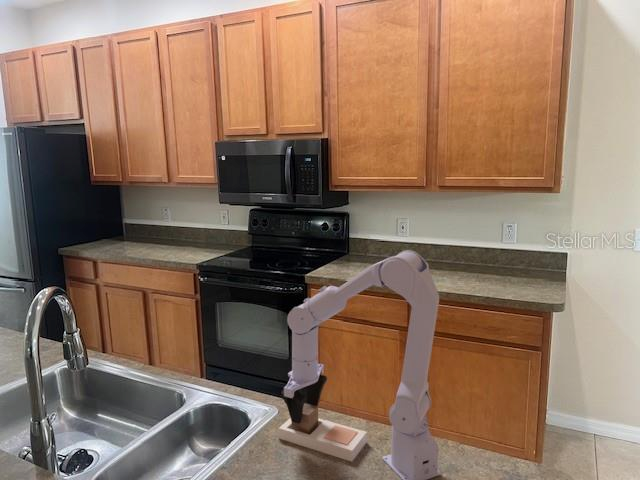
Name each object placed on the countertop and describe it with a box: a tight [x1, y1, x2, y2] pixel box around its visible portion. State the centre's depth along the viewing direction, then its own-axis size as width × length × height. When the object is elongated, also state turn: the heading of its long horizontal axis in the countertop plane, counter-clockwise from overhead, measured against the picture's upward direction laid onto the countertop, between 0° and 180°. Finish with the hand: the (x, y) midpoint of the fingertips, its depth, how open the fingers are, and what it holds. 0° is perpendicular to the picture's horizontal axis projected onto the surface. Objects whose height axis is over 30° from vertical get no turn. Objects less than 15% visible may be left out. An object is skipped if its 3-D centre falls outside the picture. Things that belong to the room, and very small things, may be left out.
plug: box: [292, 403, 319, 435], centre depth 107 cm, size 4×4×6 cm
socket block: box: [278, 417, 368, 463], centre depth 105 cm, size 18×8×3 cm, turn 62°
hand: (304, 414), depth 107 cm, fingers open, 7 cm apart
